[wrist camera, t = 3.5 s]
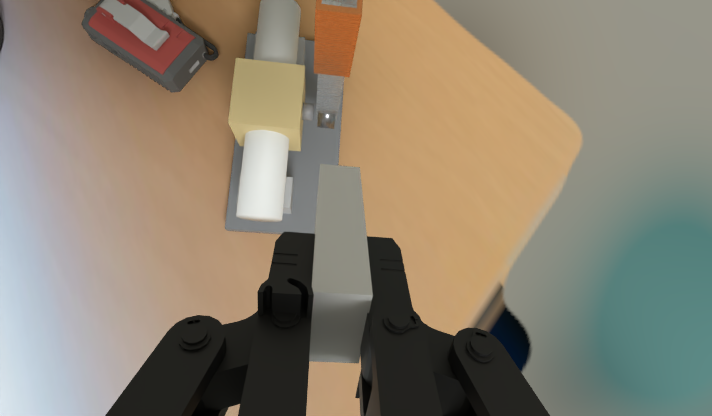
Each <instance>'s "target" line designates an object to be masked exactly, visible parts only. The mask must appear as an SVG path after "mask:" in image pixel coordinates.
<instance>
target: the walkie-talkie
mask: <svg viewBox="0 0 712 416" xmlns="http://www.w3.org/2000/svg"><path fill="white" fill-rule="evenodd" d="M82 26H83V28H84V29H85V31H86V32H87V33H88V34H89V36H90V37H91V39H92V40H93V41H95V42H96V43H98V44H99V45H101V46H103V47H104V48H106V49H107V50H108V51H110V52H111V53H113V54H114V55H116V56H118V57H119V58H121V59H122V60H124V61H125V62H127V63H129V64H130V65H132V66H133V67H134V68H137V69H138V70H139V71H141V72H142V73H143V74H144V73H145V75H146V76H149V77H150V79H153V80H154V81H155V82H157V83H158V84H159V85H160V84H161V85H162V87H165V88H166V89H167V90H170V92H180V91H181V90H182V89H183V87H184V86H185V85H186V84H187V83H188V82H189V80H190V79H191V78H192V77H193V76H194V75H195V73H196V72H197V71H198V70H199V69H200V68H201V66H202V65H203V64H204V63H205V62H206V60H210V61H212V60H215V59H216V58H218V51H217V49H216V47H215V46H214V45H212V44H211V43H209V42H208V41H206V40H205V39H203V38H202V37H200V36H199V35H198V34H196V33H195V32H193V31H192V30H190V29H189V28H187V27H186V26H184V24H183V23H182V21H181V20H180V18H179V15H178V14H176V13H175V12H174V10H173V7H172V4H171V2H170V0H101V1H100V2H99V3H98V4H97V5H96V6H95V7H90V8H89V9H87V10H86V12H85V15H84V19H83V21H82ZM206 46H207V47H209V48H210V49H212V50H213V51H214V54H212V55H209V54H208V49H207V47H206ZM128 56H129V57H128Z"/></svg>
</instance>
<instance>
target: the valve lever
mask: <svg viewBox="0 0 712 416" xmlns="http://www.w3.org/2000/svg"><path fill="white" fill-rule="evenodd" d="M362 2H363V0H316V12H315V45H314V73H316V74H318V82H317V102H316V118H318V122H317V127H318V128H329V129H334V125H335V120H337V116H338V110H339V105H340V99H341V94H342V88H343V83H344V77H349V76H350V71H351V66H352V61H353V56H354V51H355V46H356V41H357V36H358V31H359V26H360V21H361V16H362Z"/></svg>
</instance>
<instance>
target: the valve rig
mask: <svg viewBox="0 0 712 416" xmlns="http://www.w3.org/2000/svg"><path fill="white" fill-rule="evenodd" d="M300 17H301V9H300V6H299V5H298V4H297V3H296V2H295V1H294V0H261V2H260V8H259V17H258V26H257V32H256V34H251V33H248V36H247V45H246V53H245V59H243V58H236V61H235V69H234V78H233V86H232V94H231V102H230V110H229V119H228V123H229V125H230V127H231V129H232V131H233V133H234V136H235V138H236V139H235V147H234V156H233V164H232V173H231V181H230V190H229V198H228V207H227V215H226V224H225V229H226V230H228V231H240V232H255V233H269V234H282V233H283V232H284V231H285V232H299V233H313V234H314V233H315V220H316V208H317V196H318V184H319V173H320V164H327V165H338V162H339V147H340V131H341V116H342V100H343V88H342V94H341V99H340V105H339V110H338V116H337V120H335V125H334V129H329V128H318V127H317V122H318V118H316V102H317V82H318V74H316V73H314V45H315V41H310V40H305V37H299V28H300ZM343 85H344V83H343Z"/></svg>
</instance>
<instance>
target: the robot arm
mask: <svg viewBox="0 0 712 416" xmlns="http://www.w3.org/2000/svg"><path fill="white" fill-rule="evenodd" d="M2 37H3V29H2V23H1V19H0V48H1V44H2ZM404 270H405V269H404V264H403V259H402V255H401V250H400V248H399V247H398V245H397V244H396V243H395V241H394V240H393V239H392V238H381V237H368V236H367V234H366V224H365V215H364V205H363V195H362V185H361V176H360V167H349V166H338V165H327V164H320V173H319V184H318V196H317V208H316V220H315V233H314V234H313V233H299V232H285V231H284V232H283V233H282V235H281V236H280V237H279V238H278V239H277V240H276V242H275V248H274V253H273V258H272V264H271V268H270V273H269V278H268V280H266V281H265V282H264V283H263V284H261V286H260V288H259V290H258V311H257V312H256V313H255V314H253V315H252V316H250V317H248V318H246V319H244V320H241V321H238V322H234V323H229V324H224V325H222V324H221V323H220V322H219V321H218V320H217V319H215V318H212V317H210V316H202V315H197V316H192V317H187V318H185V319H183V320H181V321H179V322H177V323H176V324H175V325H174V326H173V327H172V328H171V329H170V330H169V331H168V332H167V333H166V335H165V336H164V337H163V339H162V340H161V341H160V343H159V344H158V345H157V347H156V348H155V349H154V351H153V352H152V353H151V355H150V356H149V357H148V359H147V360H146V362H145V363H144V364H143V366H142V367H141V368H140V370H139V371H138V372H137V374H136V375H135V376H134V378H133V379H132V380H131V382H130V383H129V384H128V386H127V387H126V389H125V390H124V391H123V393H122V394H121V395H120V397H119V398H118V399H117V401H116V402H115V403H114V405H113V406H112V407H111V409H110V410H109V411H108V413H107V414H106V415H105V416H225V414H226V412H227V410H228V407H231V406H234V405H237V404H240V409H239V414H238V416H306V405H307V388H308V371H309V361H316V362H341V363H359V359H360V354H361V373H360V377H359V382H358V387H357V392H356V397H355V398H360V415H361V416H550V415H549V414H548V412H547V411H546V409H545V408H544V406H543V405H542V403H541V402H540V400H539V399H538V397H537V396H536V394H535V393H534V391H533V390H532V388H531V387H530V385H529V384H528V382H527V381H526V379H525V378H524V376H523V375H522V373H521V372H520V370H519V369H518V367H517V366H516V364H515V363H514V361H513V360H512V358H511V357H510V355H509V354H508V352H507V351H506V349H505V348H504V346H503V345H502V344H501V343H500V342H499V341H498V339H497V338H496V337H494V336H493V335H491V334H490V333H488V332H487V331H484V330H481V329H478V328H465V329H463V330H460V331H459V332H458V333H457V334H456V335H455V336H453V335H450V334H447V333H444V332H441V331H438V330H435V329H433V328H431V327H429V326H427V325H426V324H424V323H423V322H422V321H421V319H420V317H419V315H418V314H417V313H416V312H415V311H414V310H413V307H412V303H411V298H410V294H409V289H408V284H407V279H406V274H405V272H404Z"/></svg>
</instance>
